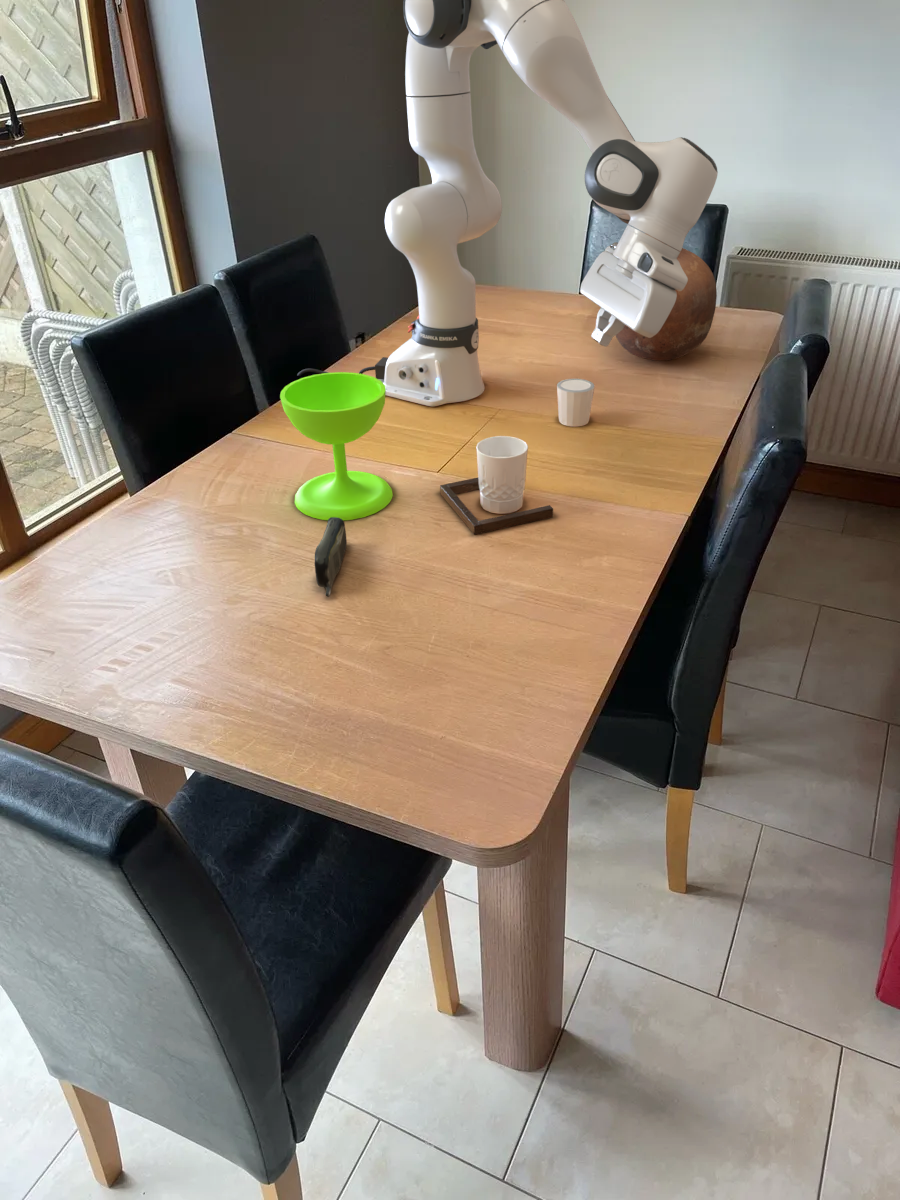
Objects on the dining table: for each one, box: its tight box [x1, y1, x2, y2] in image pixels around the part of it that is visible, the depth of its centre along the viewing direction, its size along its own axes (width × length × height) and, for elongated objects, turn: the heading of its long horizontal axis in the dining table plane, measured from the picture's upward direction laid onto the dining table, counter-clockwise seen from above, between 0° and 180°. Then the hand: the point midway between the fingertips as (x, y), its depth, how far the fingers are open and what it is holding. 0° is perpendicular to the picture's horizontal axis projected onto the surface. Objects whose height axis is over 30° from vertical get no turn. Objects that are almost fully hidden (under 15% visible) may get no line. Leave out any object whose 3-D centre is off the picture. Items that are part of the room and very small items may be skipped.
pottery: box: [614, 233, 718, 361], centre depth 193 cm, size 23×23×25 cm
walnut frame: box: [439, 477, 554, 536], centre depth 145 cm, size 13×14×2 cm
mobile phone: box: [314, 517, 348, 598], centre depth 130 cm, size 5×3×15 cm
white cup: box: [476, 435, 529, 515], centre depth 143 cm, size 8×8×10 cm
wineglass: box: [279, 371, 394, 521], centre depth 144 cm, size 16×16×18 cm
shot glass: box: [556, 378, 596, 428], centre depth 170 cm, size 7×7×7 cm
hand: (598, 342), depth 142 cm, fingers closed
